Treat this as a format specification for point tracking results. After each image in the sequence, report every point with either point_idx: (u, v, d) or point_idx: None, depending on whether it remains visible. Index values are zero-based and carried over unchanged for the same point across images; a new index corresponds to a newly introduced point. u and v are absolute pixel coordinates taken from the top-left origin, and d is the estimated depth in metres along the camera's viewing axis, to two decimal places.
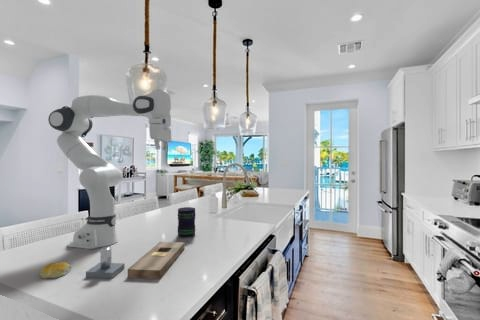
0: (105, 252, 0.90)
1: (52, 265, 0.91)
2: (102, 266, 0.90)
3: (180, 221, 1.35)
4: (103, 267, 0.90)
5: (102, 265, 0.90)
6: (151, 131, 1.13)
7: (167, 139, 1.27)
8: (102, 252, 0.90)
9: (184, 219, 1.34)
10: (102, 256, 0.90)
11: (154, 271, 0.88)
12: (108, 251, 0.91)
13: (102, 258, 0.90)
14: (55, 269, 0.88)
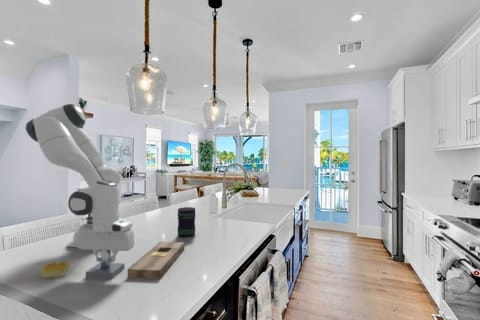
0: (105, 252, 0.90)
1: (53, 265, 0.91)
2: (102, 266, 0.90)
3: (180, 221, 1.35)
4: (103, 267, 0.90)
5: (102, 265, 0.90)
6: (130, 241, 0.90)
7: None
8: (102, 252, 0.90)
9: (184, 219, 1.34)
10: (102, 256, 0.90)
11: (154, 271, 0.88)
12: (108, 251, 0.91)
13: (102, 258, 0.90)
14: (56, 269, 0.89)
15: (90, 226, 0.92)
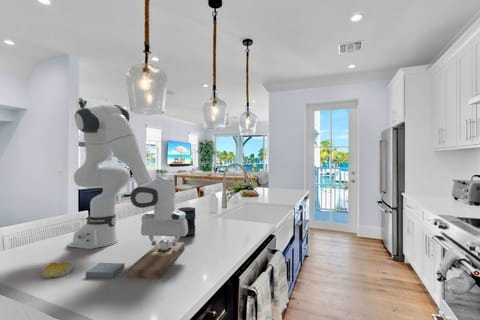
0: (165, 243, 1.06)
1: (54, 265, 0.91)
2: None
3: None
4: None
5: None
6: (185, 228, 1.06)
7: None
8: (162, 243, 1.06)
9: None
10: (162, 246, 1.06)
11: (154, 271, 0.88)
12: (167, 242, 1.07)
13: (162, 248, 1.06)
14: (57, 269, 0.89)
15: (151, 215, 1.08)
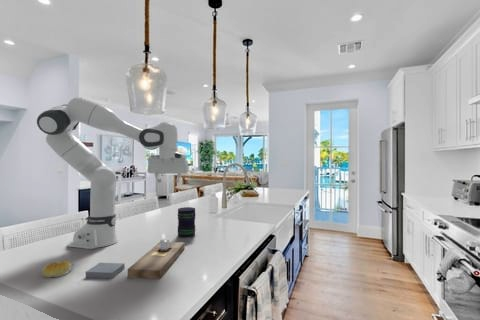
0: (165, 243, 1.06)
1: (54, 264, 0.91)
2: None
3: (180, 221, 1.35)
4: None
5: None
6: (187, 166, 1.22)
7: None
8: (162, 243, 1.06)
9: (184, 219, 1.34)
10: (162, 246, 1.06)
11: (154, 271, 0.88)
12: (167, 242, 1.07)
13: (162, 248, 1.06)
14: (58, 269, 0.89)
15: (156, 156, 1.23)
